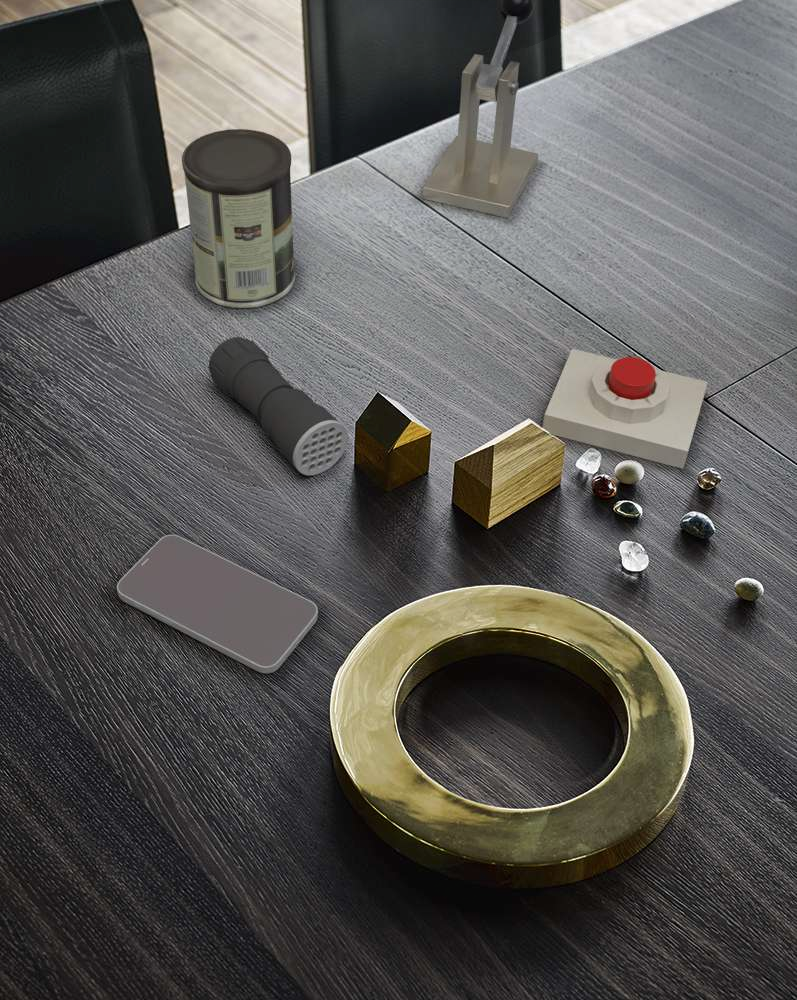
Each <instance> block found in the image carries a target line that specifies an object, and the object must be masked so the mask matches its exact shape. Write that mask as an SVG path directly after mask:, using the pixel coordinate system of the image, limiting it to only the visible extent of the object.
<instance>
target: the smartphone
mask: <svg viewBox="0 0 797 1000" xmlns="http://www.w3.org/2000/svg"><path fill="white" fill-rule="evenodd" d="M116 591H117V596H118V598H119V599H120V600H121V601H122V602H124V603H126V604H128V605H130V606H131V607H133V608H135V609H137V610H139V611H140V612H143V613H145V614H146V615H149V616H150V617H153V618H154V619H156V620H158V621H160V622H162V623H164V624H166V625H168V626H170V627H172V628H174V629H176V630H177V631H179V632H181V633H183V634H185V635H187V636H189V637H191V638H193V639H195V640H197V641H199V642H200V643H203V644H204V645H206V646H208V647H210V648H212V649H214V650H216V651H217V652H220V653H221V654H224V655H226V656H227V657H228V658H231V659H233V660H234V661H236V662H239V663H241V664H243V665H245V666H246V667H248V668H250V669H252V670H254V671H256V672H258V673H261V674H271V673H275V672H276V671H277V670H279V669H280V667H281V666H282V665H283V664H284V663H285V661H286V660H287V659H288V657H289V656H291V654H292V652H294V650H295V649H296V648H297V647H298V645H299V644H300V643H301V641H302V640H303V639H304V638H305V636H306V635H307V634H308V633H309V631H310V630H311V629H312V628H313V627H314V625H315V624H316V623H317V621H318V617H319V610H318V606H317V605H316V604H315V602H313V601H312V600H310V599H308V598H306V597H304V596H302V595H301V594H298V593H296V592H293V591H291V590H290V589H288V588H286V587H284V586H282V585H280V584H278V583H276V582H274V581H272V580H270V579H268V578H265V577H263V576H261V575H259V574H257V573H256V572H253V571H251V570H249V569H247V568H245V567H243V566H241V565H239V564H237V563H235V562H233V561H230V559H229V560H228V559H226V558H225V557H223V556H220V555H219V554H216V553H214V552H213V551H211V550H208V549H207V548H204V547H202V546H200V545H198V544H196V543H194V542H192V541H190V540H188V539H186V538H184V537H182V536H180V535H177V534H167V535H164V536H162V537H161V538H159V540H157V541H156V542H155V544H153V545H152V546H151V548H149V550H147V552H145V554H143V556H141V558H140V559H138V561H137V562H135V564H134V565H133V566H132V567H131V568H130V569H128V571H127V572H126V573H125V574H124V575H123V576H122V577H121V578H120V579H119V580H118V582H117V584H116Z"/></svg>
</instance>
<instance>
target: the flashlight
mask: <svg viewBox="0 0 797 1000" xmlns="http://www.w3.org/2000/svg"><path fill="white" fill-rule="evenodd" d="M208 370H209V374H210V377H211V378H212V381H213V382H214V384H215V385H216V386H217V387H218V388H219V389H220V390H221V391H222V392H223V393H224V394H225V395H226V396H228V397H230V398H231V397H232V398H234V400H236V401H237V402H238V403H239V404H240V405H241V406H242V407H243V408H245V409H246V410H248V411H249V412H250V413H251V414H252V416H254V417H255V418H256V419H257V420H258V421H259V422H260V424H261V428H262V431H263V432H264V433H265V434H266V435H267V436H268V437H269V438H270V439H271V440H272V442H274V443H275V445H276V447H277V448H278V451H279V452H280V454H282V456H283V457H284V458H286V460H287V461H289V462H290V464H292V466H293V467H294V468H295V469H296V470H297V471H298V472H299V473H301V474H302V475H304V476H317V475H319V474H320V475H321V474H322V473H325V472H326V471H327V470H329V469H330V468H332V467H333V466H334V465H335V464H336V463H337V462H338V461H339V460H340V459H341V457H342V456H343V454H344V453H345V451H346V449H347V445H348V442H349V433H348V430H347V428H346V427H345V426H344V425H343V424H342V423H341V422H340V421H339V420H338V419H337V418H336V417H335V416H334V415H333V414H332V413H331V412H329V410H328V409H326V407H324V406H322V405H320V404H318V403H316V402H314V400H313V399H312V398H311V397H310V395H308V394H307V393H306V392H305V391H304V390H302V389H298V388H294V386H292V385H291V384H290V383H289V382H288V381H287V380H286V379H285V378H284V376H282V374H281V372H280V371H279V370H278V369H277V367H275V365H274V364H272V362H271V361H270V359H269V356H268V354H267V353H266V352H265V351H264V350H263V349H262V348H261V347H260V346H258V344H257V343H255V342H254V341H253V340H250V339H249V338H244V337H242V336H241V337H240V336H234V337H230V338H227V339H226V340H224V341H222V342H221V343H220V344H218V346H217V347H216V348H215V349H214V350H213V352H212V353H211V355H210V359H209V361H208Z"/></svg>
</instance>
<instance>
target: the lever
mask: <svg viewBox="0 0 797 1000" xmlns="http://www.w3.org/2000/svg"><path fill="white" fill-rule="evenodd" d="M534 5H535V4H534V0H501V1H500V6H499V7H500V9H499V10H500V13H501V16H502V17H503V18H504V20H505V21H504V24H503V26H502V29H501V33H500V36H499V38H498V41H497V44H496V47H495V50H494V52H493V54H492V58H491V60H490V63H489V64H487V63H483V65H482V68H481V71H480V74H479V76H478V79H477V82H476V94H477V99H480V100H483V101H487V102H491V103H497V95H498V85H499V79H500V77H501V76H502V74H503V72H504V67H503V64H504V62H505V60H506V56H507V53H508V50H509V47H510V45H511V41H512V39H513V36H514V34H515V31H516V28H517V25H520V24H523V23H525V22H526V21H528V20H529V19H530V17H531V16H532V15H533V11H534Z"/></svg>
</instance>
